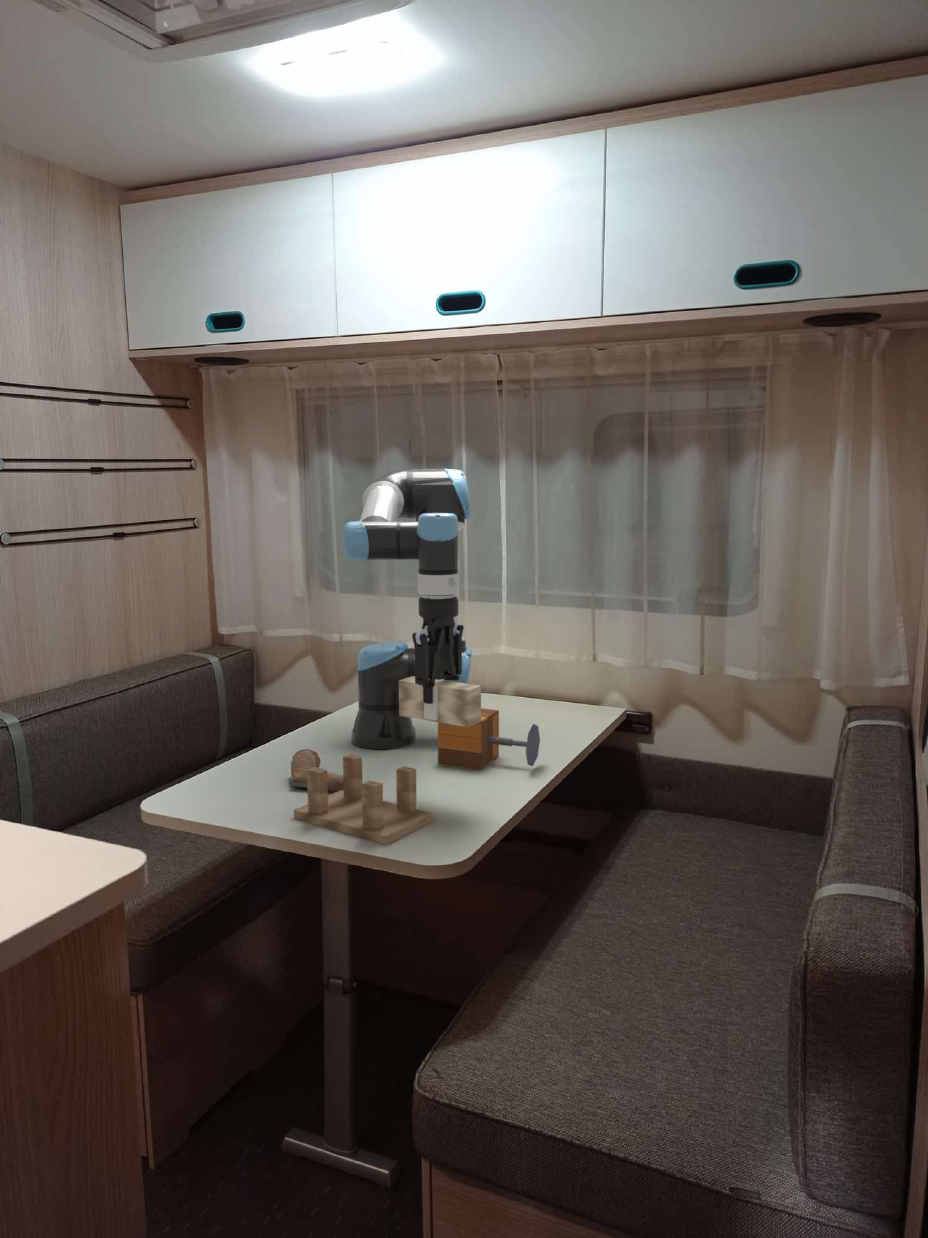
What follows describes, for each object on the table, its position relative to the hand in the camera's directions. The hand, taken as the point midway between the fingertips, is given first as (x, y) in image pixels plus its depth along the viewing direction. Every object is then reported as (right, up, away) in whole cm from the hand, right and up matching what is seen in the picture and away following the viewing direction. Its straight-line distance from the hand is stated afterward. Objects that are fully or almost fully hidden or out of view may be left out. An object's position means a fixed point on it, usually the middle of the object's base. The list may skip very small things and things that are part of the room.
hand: (439, 715), depth 172 cm
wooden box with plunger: (+10, -13, +24) cm, 29 cm away
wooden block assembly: (-14, -18, -9) cm, 24 cm away
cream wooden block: (0, -1, 0) cm, 1 cm away
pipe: (-24, -16, +10) cm, 31 cm away
